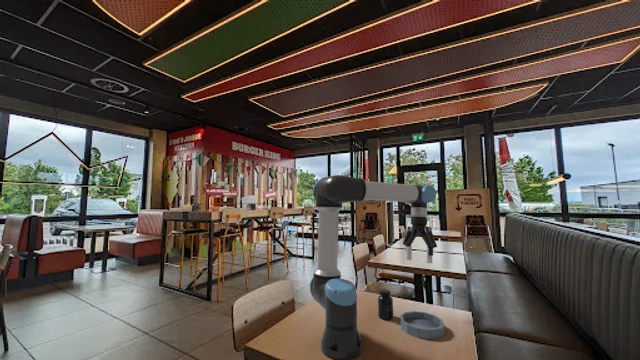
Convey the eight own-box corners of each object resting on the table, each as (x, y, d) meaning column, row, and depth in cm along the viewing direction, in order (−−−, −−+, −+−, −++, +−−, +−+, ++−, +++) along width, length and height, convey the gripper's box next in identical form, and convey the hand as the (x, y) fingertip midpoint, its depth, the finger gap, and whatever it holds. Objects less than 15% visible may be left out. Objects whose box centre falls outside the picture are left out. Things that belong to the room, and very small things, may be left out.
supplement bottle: (392, 314, 126) (391, 288, 127) (394, 320, 119) (393, 293, 120) (377, 313, 127) (376, 288, 127) (379, 320, 120) (378, 293, 121)
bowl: (417, 341, 101) (417, 332, 102) (393, 322, 118) (393, 314, 118) (453, 335, 106) (453, 326, 106) (425, 317, 122) (425, 309, 123)
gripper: (445, 216, 120) (445, 265, 116) (408, 218, 143) (407, 259, 139) (432, 214, 118) (432, 264, 113) (396, 216, 140) (395, 258, 136)
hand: (418, 261), depth 126 cm, fingers open, 13 cm apart
